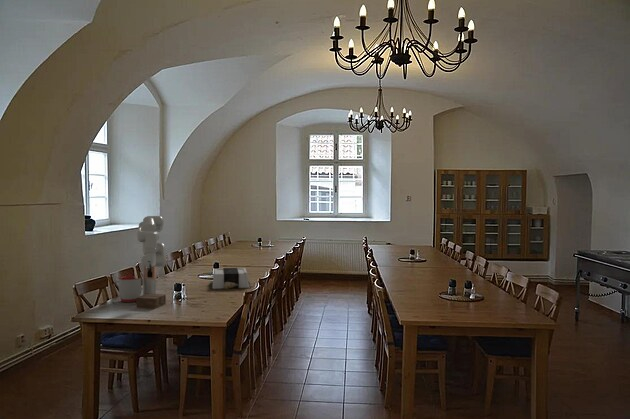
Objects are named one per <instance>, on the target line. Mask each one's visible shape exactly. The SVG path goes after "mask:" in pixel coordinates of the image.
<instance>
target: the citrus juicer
mask: <svg viewBox="0 0 630 419" xmlns="http://www.w3.org/2000/svg"><path fill="white" fill-rule="evenodd" d="M142 279H143V276H142V275H141V276H139V277H137V278H136V276H135V275H133V274H132V273H128V274H127V275H124V276H120V277H118V293H119V298H120V300H121V302H123V303H128V304H129V303H133V302H136V298H137V297H140V296H142V295H141V294H142V284H143V280H142Z"/></svg>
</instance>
